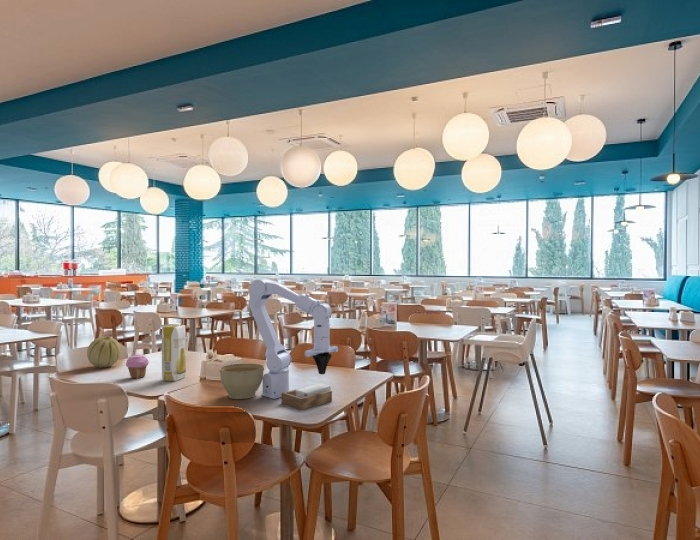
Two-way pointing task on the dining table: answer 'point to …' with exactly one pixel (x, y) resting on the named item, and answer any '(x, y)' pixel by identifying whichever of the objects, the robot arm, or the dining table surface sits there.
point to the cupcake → (137, 365)
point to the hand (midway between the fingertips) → (321, 373)
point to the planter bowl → (241, 379)
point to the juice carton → (173, 352)
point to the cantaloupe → (104, 352)
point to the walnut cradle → (305, 399)
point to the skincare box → (312, 390)
